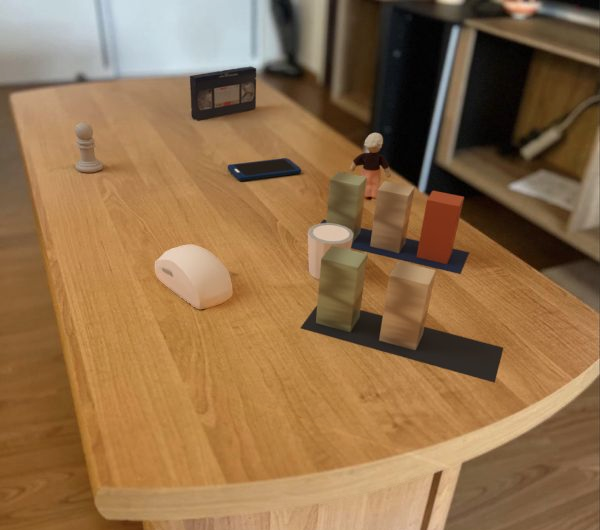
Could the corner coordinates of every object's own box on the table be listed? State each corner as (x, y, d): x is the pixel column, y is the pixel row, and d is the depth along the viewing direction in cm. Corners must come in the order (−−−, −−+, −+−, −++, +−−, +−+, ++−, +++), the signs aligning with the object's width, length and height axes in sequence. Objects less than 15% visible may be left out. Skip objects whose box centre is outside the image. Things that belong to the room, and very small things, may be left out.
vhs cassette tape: (196, 121, 153) (194, 77, 147) (190, 117, 155) (187, 74, 149) (257, 109, 163) (257, 68, 157) (250, 106, 165) (250, 65, 159)
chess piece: (97, 174, 124) (91, 128, 118) (71, 172, 124) (63, 125, 119) (107, 164, 128) (101, 119, 123) (82, 162, 128) (74, 117, 123)
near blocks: (422, 334, 85) (436, 270, 79) (415, 350, 82) (429, 284, 76) (325, 308, 89) (331, 245, 83) (315, 323, 86) (320, 258, 80)
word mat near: (502, 349, 84) (503, 347, 84) (493, 384, 78) (494, 382, 78) (320, 301, 91) (321, 299, 91) (299, 330, 85) (300, 328, 85)
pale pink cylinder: (299, 279, 96) (301, 237, 92) (312, 259, 101) (315, 218, 97) (342, 288, 94) (346, 247, 90) (354, 267, 100) (359, 227, 95)
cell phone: (226, 168, 130) (226, 164, 129) (287, 160, 135) (288, 157, 134) (239, 181, 124) (239, 177, 124) (302, 173, 130) (302, 169, 129)
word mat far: (468, 254, 105) (469, 252, 105) (459, 276, 99) (460, 273, 99) (323, 221, 112) (323, 219, 112) (306, 239, 106) (306, 237, 106)
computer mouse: (187, 263, 98) (184, 226, 94) (238, 299, 91) (238, 261, 87) (150, 276, 94) (147, 238, 90) (201, 315, 87) (199, 275, 83)
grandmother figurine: (385, 196, 123) (395, 131, 115) (387, 204, 120) (397, 138, 112) (346, 194, 123) (353, 128, 115) (347, 202, 120) (353, 135, 112)
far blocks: (405, 243, 106) (414, 186, 100) (399, 253, 103) (408, 195, 97) (332, 226, 110) (338, 171, 104) (325, 236, 107) (329, 179, 101)
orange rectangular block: (451, 253, 104) (464, 196, 98) (446, 264, 101) (459, 206, 95) (422, 247, 106) (432, 190, 100) (416, 257, 103) (426, 199, 97)
